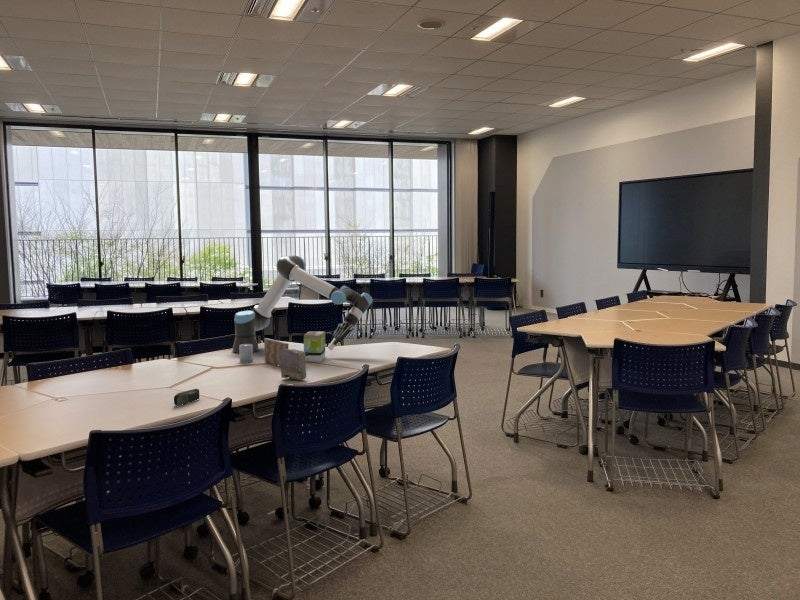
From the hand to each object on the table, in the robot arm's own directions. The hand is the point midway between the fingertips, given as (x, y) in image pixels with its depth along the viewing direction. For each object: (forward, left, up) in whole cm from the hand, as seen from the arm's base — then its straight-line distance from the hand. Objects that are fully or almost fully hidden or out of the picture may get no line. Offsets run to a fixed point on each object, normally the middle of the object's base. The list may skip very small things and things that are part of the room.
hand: (329, 348), depth 349 cm
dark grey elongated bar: (+46, -98, -5) cm, 109 cm away
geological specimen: (+37, -44, -5) cm, 58 cm away
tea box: (-1, -9, -5) cm, 11 cm away
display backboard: (-1, -33, -5) cm, 33 cm away
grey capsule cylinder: (-21, -40, -5) cm, 46 cm away
